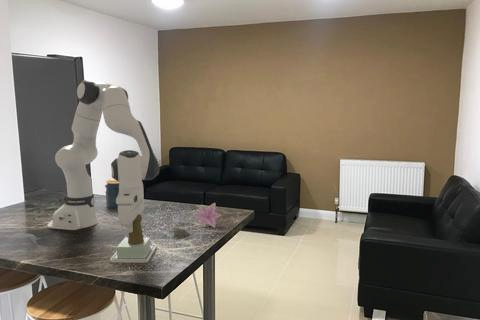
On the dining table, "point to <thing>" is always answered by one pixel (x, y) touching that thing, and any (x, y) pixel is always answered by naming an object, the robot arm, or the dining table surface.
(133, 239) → the cork
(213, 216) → the lily
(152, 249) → the butter dish
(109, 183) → the canister
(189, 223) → the dining table surface
